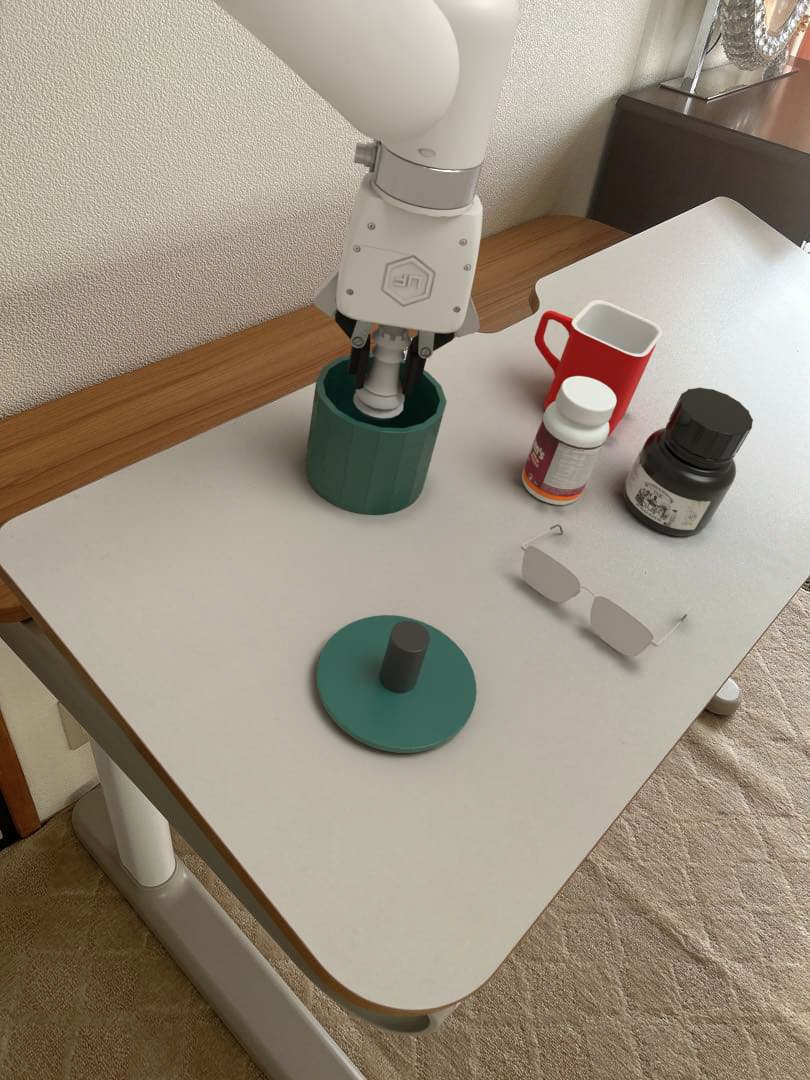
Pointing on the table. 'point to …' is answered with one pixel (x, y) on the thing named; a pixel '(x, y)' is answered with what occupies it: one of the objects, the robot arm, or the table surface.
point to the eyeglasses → (605, 613)
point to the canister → (370, 443)
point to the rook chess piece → (384, 375)
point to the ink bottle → (688, 463)
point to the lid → (396, 684)
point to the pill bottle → (569, 441)
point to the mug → (602, 350)
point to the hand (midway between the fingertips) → (382, 382)
